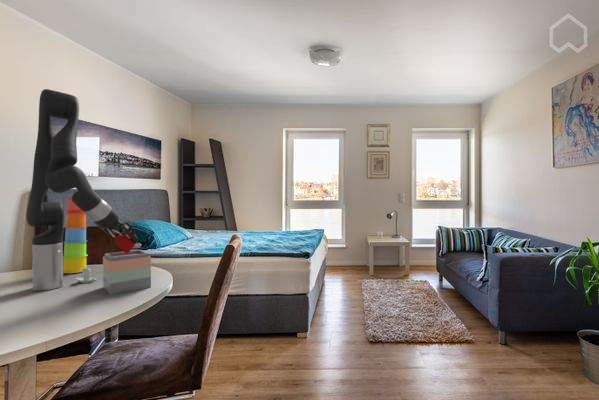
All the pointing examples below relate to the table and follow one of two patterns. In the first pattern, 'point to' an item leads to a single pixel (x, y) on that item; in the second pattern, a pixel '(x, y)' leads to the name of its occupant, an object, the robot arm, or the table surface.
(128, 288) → the pastel striped block
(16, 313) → the table surface
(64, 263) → the stacking cups
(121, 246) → the strawberry
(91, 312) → the table surface
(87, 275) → the pacifier
